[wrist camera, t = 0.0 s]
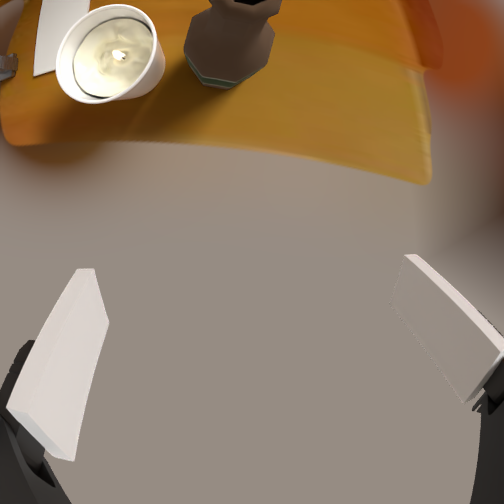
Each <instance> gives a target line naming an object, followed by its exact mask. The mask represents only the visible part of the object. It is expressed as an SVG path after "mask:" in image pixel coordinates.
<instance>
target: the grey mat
mask: <svg viewBox="0 0 504 504" xmlns="http://www.w3.org/2000/svg"><path fill="white" fill-rule="evenodd" d="M89 6H90V0H43V2H42V7H41V12H40V18H39V24H38V31H37V39H36V48H35V60H34V76H38V75H41V74H44V73H47V72H50V71H54V70H56V69H55V63H56V56H57V52H58V48H59V46H60V44H61V41H62V40H63V38H64V36H65V35H66V33H67V32H68V30H69V29H70V28H71V27H72V26H73V25H74V24H75V23H76V22H77V21H78V20H79V19H80V18H81V17H83V16H84V15H86V14H87V13H89Z"/></svg>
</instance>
